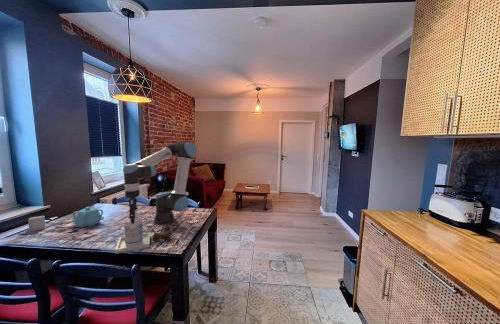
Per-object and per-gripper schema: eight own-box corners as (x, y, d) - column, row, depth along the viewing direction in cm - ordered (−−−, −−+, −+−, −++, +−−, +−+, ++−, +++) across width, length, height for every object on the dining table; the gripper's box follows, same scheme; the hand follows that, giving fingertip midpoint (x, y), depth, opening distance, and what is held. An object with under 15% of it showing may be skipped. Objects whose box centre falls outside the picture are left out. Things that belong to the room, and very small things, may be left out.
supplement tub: (143, 243, 122) (143, 220, 121) (125, 248, 117) (124, 223, 116) (142, 237, 130) (141, 215, 129) (124, 241, 125) (124, 218, 124)
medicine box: (45, 226, 147) (44, 215, 146) (45, 228, 144) (44, 216, 143) (29, 229, 141) (28, 218, 141) (29, 232, 138) (28, 219, 137)
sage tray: (149, 235, 135) (149, 232, 135) (149, 247, 120) (149, 243, 120) (119, 240, 128) (119, 237, 127) (115, 254, 112) (115, 249, 112)
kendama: (173, 231, 143) (168, 244, 124) (159, 233, 142) (151, 246, 122) (173, 223, 143) (167, 235, 124) (158, 224, 141) (150, 236, 122)
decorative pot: (70, 225, 149) (69, 208, 148) (96, 219, 163) (95, 202, 162) (80, 231, 141) (78, 212, 140) (105, 223, 155) (105, 206, 153)
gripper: (127, 186, 130) (129, 217, 132) (122, 195, 108) (124, 233, 110) (140, 185, 134) (141, 216, 136) (138, 194, 111) (140, 230, 113)
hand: (134, 223), depth 123 cm, fingers open, 13 cm apart
